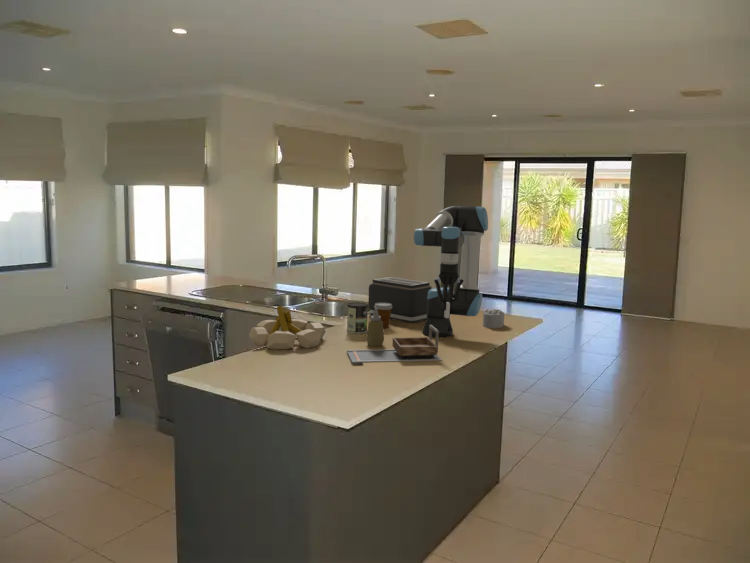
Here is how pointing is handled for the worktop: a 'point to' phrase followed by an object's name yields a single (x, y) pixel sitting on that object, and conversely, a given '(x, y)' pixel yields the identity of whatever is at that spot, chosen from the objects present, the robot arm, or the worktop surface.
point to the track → (384, 356)
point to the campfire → (286, 332)
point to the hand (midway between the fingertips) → (446, 317)
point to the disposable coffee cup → (384, 313)
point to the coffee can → (357, 318)
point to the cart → (417, 345)
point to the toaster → (401, 298)
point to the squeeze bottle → (375, 331)
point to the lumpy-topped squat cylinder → (493, 318)
